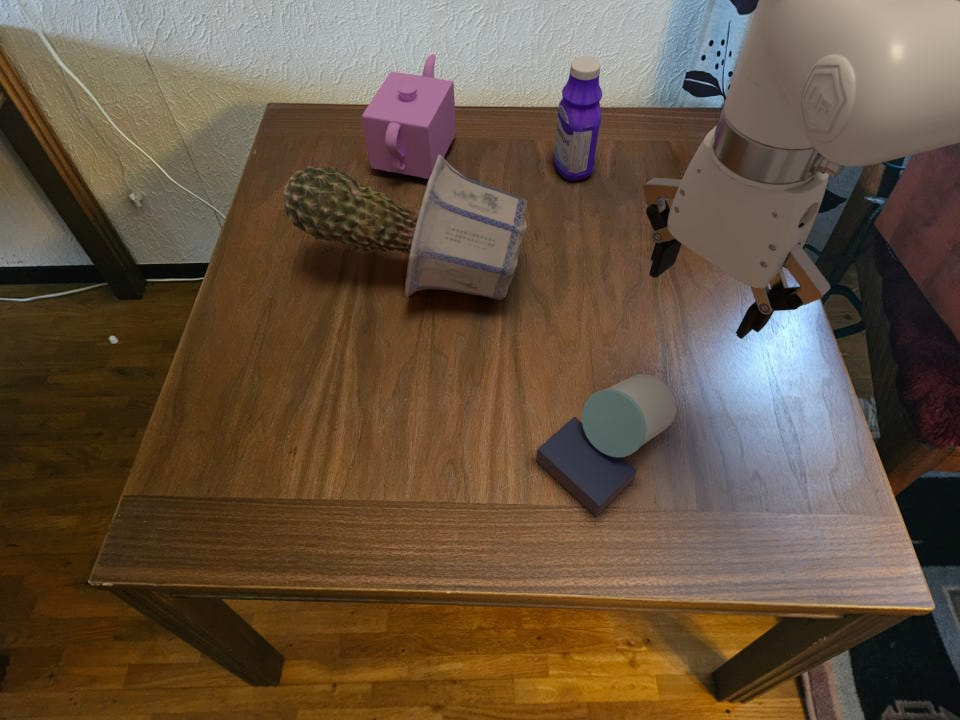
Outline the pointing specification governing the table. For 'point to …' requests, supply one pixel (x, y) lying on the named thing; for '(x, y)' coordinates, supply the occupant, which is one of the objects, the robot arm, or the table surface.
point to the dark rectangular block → (584, 467)
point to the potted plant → (419, 226)
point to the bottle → (579, 120)
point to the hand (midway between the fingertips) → (703, 298)
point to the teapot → (410, 122)
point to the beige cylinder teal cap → (628, 414)
